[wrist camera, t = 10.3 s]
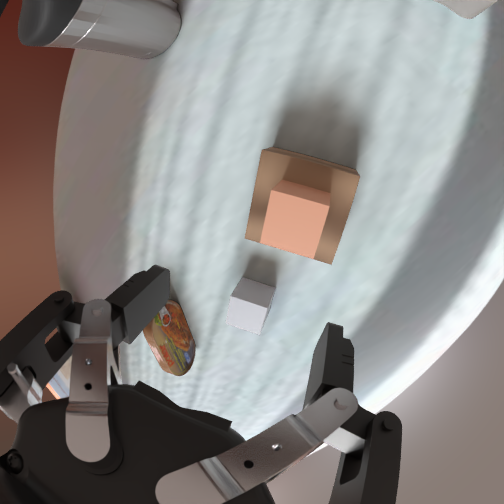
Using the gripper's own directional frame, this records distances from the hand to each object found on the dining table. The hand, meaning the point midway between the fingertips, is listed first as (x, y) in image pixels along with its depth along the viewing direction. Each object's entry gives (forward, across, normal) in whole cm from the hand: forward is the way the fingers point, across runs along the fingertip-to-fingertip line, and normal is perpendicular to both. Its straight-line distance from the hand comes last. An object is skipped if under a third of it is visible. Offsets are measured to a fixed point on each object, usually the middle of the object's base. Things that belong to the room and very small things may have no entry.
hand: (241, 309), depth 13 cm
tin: (+22, +15, +28) cm, 39 cm away
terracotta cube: (+17, -1, 0) cm, 17 cm away
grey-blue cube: (+22, +2, +16) cm, 27 cm away
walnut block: (+22, 0, 0) cm, 22 cm away
